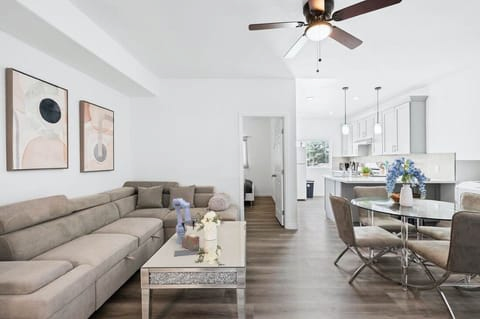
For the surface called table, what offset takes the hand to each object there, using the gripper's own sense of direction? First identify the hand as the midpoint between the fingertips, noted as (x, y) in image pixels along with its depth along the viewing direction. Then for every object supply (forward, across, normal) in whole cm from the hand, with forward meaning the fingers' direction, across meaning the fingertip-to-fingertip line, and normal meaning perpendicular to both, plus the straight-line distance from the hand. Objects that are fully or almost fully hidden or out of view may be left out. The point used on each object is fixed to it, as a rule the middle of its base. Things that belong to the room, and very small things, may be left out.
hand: (189, 230), depth 239 cm
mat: (+19, -1, -6) cm, 20 cm away
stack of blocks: (+16, -1, +4) cm, 16 cm away
